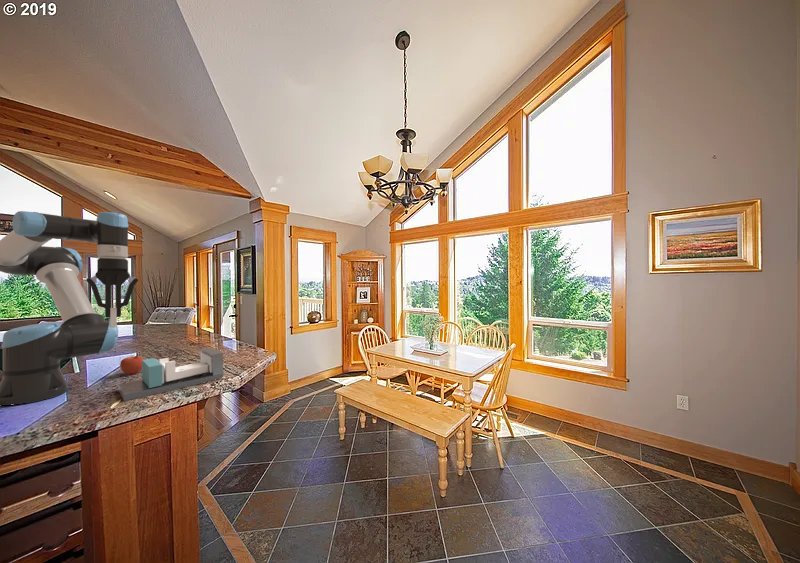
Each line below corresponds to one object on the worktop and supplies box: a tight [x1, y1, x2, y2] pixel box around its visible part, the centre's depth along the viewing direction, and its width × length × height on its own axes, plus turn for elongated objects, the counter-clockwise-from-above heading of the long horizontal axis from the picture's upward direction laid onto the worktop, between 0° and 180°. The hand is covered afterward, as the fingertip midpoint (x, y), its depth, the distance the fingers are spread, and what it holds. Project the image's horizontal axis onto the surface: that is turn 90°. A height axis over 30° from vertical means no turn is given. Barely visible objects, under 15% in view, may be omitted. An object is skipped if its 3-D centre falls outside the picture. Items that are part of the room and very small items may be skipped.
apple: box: [119, 353, 145, 375], centre depth 119 cm, size 7×7×8 cm
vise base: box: [117, 372, 224, 402], centre depth 107 cm, size 14×28×2 cm, turn 139°
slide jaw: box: [141, 357, 164, 388], centre depth 103 cm, size 13×4×7 cm, turn 49°
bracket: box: [158, 357, 208, 382], centre depth 109 cm, size 13×7×8 cm, turn 146°
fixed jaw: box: [199, 346, 224, 376], centre depth 116 cm, size 14×4×8 cm, turn 49°
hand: (113, 326), depth 101 cm, fingers closed
